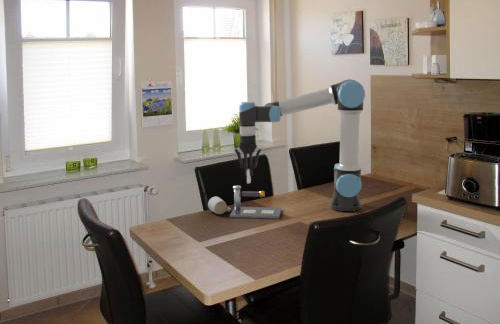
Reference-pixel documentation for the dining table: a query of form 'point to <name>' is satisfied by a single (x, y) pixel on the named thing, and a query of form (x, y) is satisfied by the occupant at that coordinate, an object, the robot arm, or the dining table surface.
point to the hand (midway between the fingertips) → (248, 182)
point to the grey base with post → (252, 209)
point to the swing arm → (253, 193)
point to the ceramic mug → (218, 205)
